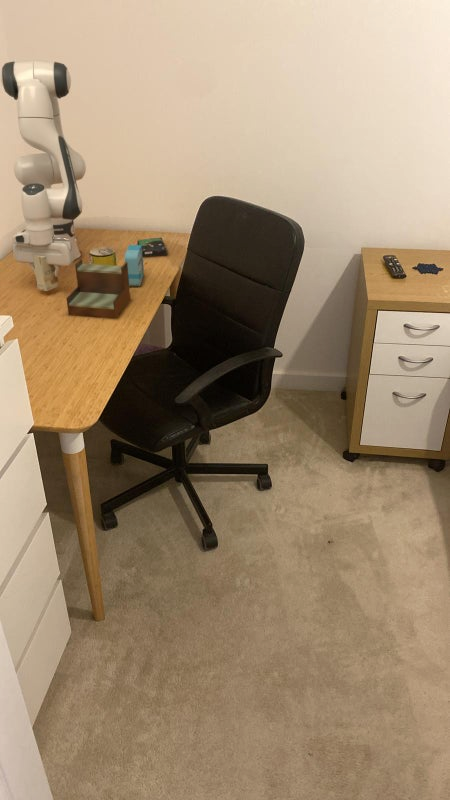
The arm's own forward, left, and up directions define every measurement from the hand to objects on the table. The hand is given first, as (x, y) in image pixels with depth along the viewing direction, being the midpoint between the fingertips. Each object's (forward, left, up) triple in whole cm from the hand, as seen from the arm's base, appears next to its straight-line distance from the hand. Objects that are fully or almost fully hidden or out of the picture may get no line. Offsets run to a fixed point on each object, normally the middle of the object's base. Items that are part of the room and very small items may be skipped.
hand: (46, 275), depth 222 cm
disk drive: (+23, +48, -7) cm, 54 cm away
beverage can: (+17, +11, -7) cm, 21 cm away
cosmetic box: (0, 0, -5) cm, 5 cm away
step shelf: (+22, -9, -7) cm, 24 cm away
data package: (+27, +15, -7) cm, 31 cm away
